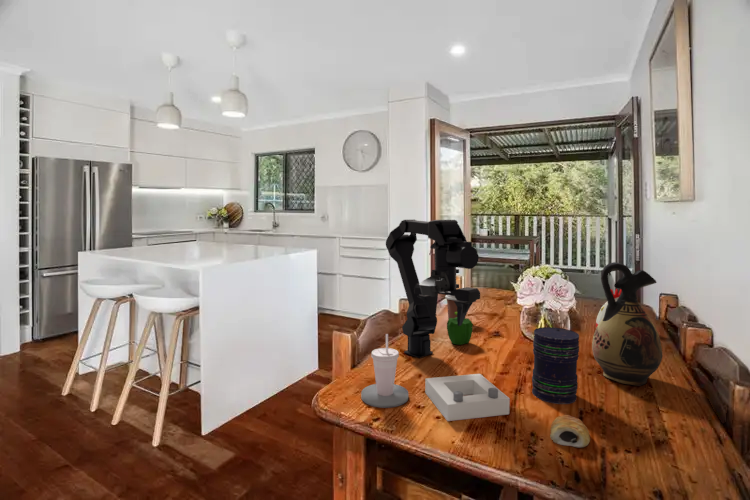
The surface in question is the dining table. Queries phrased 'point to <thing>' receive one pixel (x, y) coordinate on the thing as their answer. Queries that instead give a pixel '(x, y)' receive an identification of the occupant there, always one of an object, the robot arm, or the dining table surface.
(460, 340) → the bell pepper
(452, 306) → the coffee cup
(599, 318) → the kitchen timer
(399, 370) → the dining table surface
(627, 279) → the ceramic jug
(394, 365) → the smoothie
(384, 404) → the coaster
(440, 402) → the holder
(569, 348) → the storage jar
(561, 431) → the pastry
